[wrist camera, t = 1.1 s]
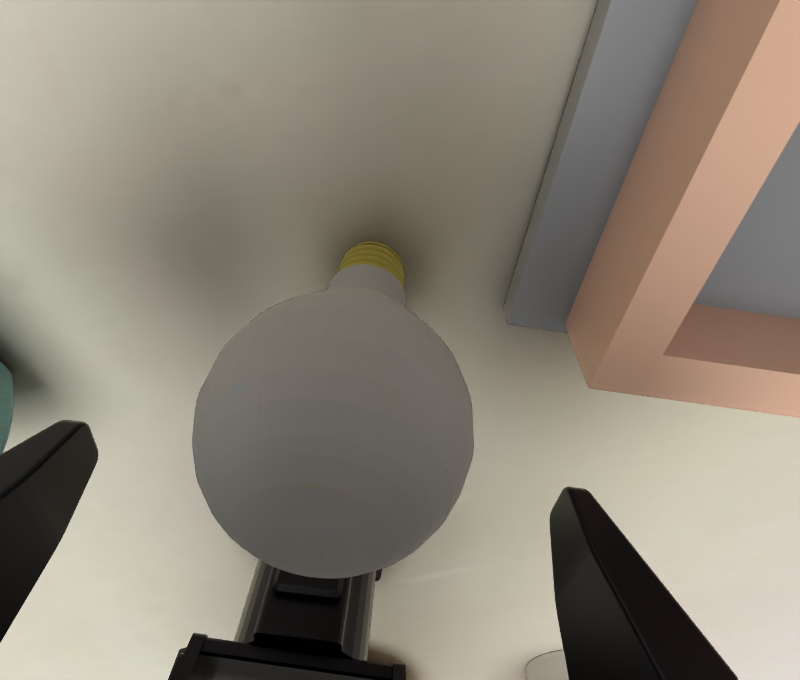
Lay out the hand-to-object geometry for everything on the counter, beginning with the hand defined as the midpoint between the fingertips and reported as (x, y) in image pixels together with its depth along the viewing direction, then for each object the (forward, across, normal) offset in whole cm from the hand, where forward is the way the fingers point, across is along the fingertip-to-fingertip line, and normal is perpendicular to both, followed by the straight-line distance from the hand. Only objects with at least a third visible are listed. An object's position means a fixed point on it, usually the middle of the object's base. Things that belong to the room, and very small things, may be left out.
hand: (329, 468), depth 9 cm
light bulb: (+8, 0, 0) cm, 8 cm away
